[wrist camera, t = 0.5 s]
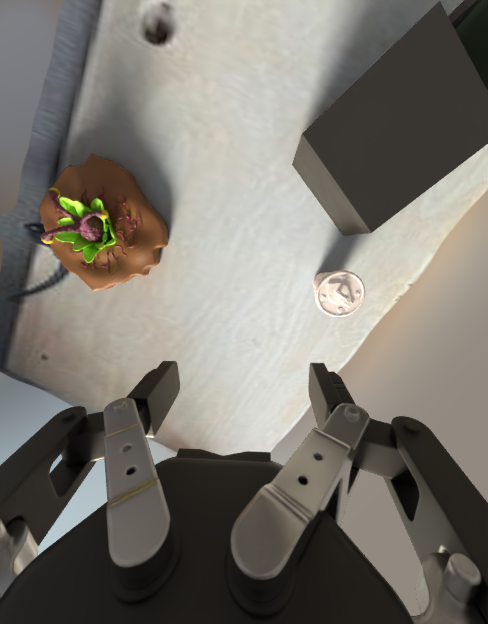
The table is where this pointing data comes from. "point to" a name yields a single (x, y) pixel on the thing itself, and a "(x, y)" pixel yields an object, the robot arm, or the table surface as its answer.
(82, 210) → the plant
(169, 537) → the robot arm
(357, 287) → the smoothie
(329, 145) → the cabinet
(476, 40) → the drawer
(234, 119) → the table surface
